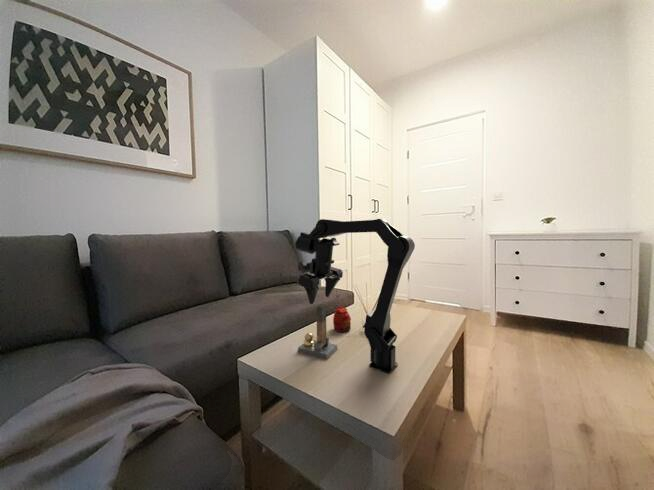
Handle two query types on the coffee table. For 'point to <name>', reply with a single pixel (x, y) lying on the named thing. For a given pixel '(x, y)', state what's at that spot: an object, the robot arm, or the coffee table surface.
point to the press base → (317, 347)
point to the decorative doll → (341, 319)
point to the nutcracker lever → (321, 324)
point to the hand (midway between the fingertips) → (319, 300)
